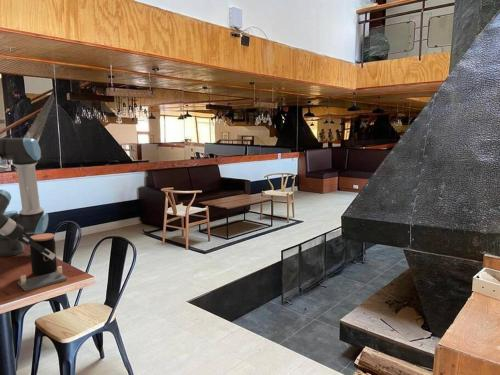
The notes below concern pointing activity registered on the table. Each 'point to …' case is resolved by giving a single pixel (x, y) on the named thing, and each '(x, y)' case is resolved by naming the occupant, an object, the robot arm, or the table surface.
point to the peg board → (42, 280)
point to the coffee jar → (40, 261)
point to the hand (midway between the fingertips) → (49, 254)
